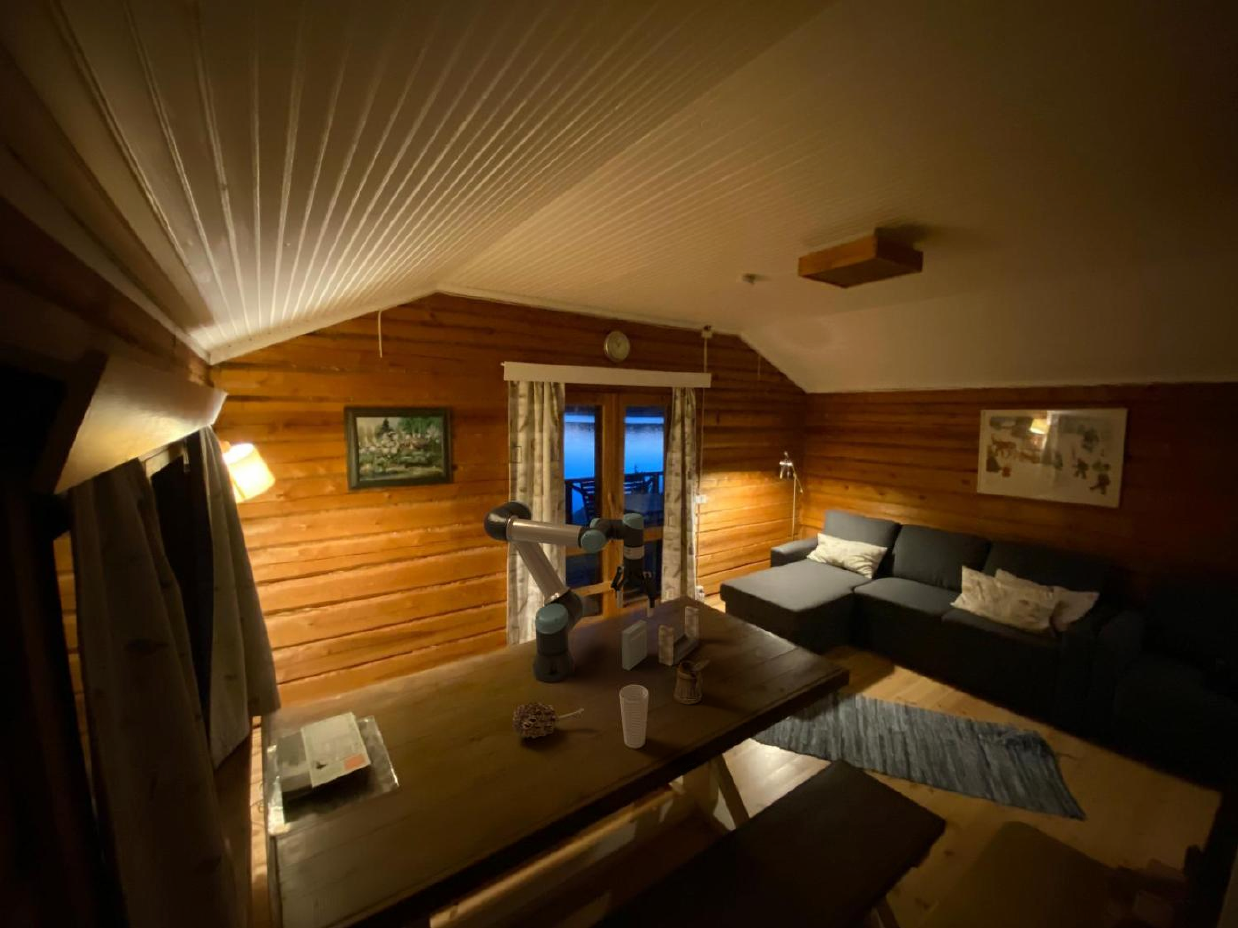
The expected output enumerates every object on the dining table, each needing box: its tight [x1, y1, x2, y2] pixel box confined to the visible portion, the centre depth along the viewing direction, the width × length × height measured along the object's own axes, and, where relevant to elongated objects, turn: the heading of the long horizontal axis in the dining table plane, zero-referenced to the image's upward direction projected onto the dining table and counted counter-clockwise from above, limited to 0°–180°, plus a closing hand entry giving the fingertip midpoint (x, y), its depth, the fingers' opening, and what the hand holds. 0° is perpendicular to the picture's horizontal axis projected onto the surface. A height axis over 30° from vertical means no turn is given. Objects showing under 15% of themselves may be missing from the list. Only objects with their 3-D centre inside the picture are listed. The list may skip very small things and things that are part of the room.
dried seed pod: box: [512, 701, 585, 739], centre depth 153 cm, size 22×10×10 cm, turn 109°
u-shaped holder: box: [658, 606, 700, 667], centre depth 198 cm, size 8×22×14 cm, turn 144°
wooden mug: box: [673, 657, 710, 705], centre depth 167 cm, size 9×14×18 cm, turn 30°
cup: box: [619, 683, 650, 749], centre depth 148 cm, size 8×8×16 cm
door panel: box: [621, 619, 648, 671], centre depth 191 cm, size 3×12×14 cm, turn 144°
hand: (634, 611), depth 189 cm, fingers open, 13 cm apart
